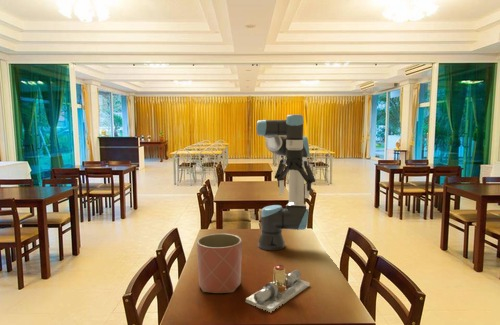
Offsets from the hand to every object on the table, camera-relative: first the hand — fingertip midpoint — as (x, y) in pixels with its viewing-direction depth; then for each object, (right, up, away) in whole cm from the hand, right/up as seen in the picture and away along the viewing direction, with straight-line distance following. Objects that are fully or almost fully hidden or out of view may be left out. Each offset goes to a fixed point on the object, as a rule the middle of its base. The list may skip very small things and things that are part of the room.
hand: (294, 196), depth 153 cm
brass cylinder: (-8, -37, -16) cm, 41 cm away
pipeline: (-8, -38, -16) cm, 42 cm away
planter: (-33, -38, -8) cm, 51 cm away
